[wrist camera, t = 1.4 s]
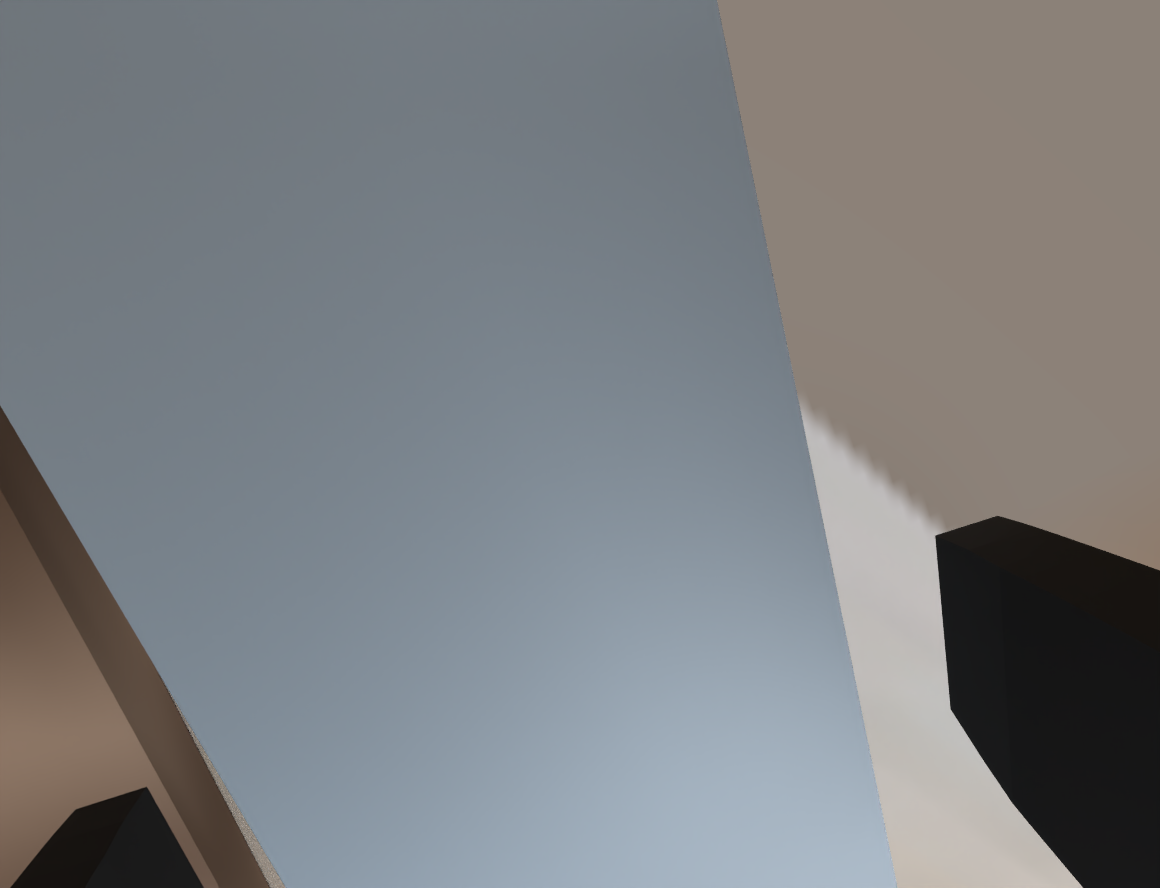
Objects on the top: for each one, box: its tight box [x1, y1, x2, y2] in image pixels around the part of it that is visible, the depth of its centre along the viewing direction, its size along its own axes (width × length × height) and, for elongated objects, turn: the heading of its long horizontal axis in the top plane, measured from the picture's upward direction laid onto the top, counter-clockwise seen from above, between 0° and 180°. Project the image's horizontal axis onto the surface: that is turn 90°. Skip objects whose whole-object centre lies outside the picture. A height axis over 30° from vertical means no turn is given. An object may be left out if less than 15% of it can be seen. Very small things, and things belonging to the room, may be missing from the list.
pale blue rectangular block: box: [0, 0, 897, 888], centre depth 10 cm, size 14×4×6 cm, turn 16°
